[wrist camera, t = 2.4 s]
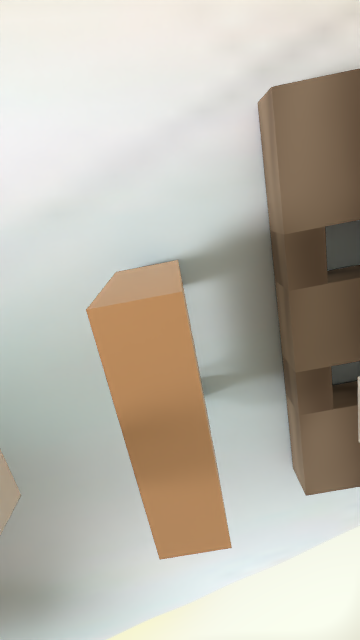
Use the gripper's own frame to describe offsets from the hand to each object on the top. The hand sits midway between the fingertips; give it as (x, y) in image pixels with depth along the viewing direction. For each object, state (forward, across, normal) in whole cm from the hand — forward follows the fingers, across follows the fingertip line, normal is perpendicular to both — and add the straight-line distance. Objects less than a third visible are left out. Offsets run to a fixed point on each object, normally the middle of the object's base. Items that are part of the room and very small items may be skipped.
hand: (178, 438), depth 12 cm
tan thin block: (+10, 0, 0) cm, 10 cm away
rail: (+10, -10, 0) cm, 14 cm away
